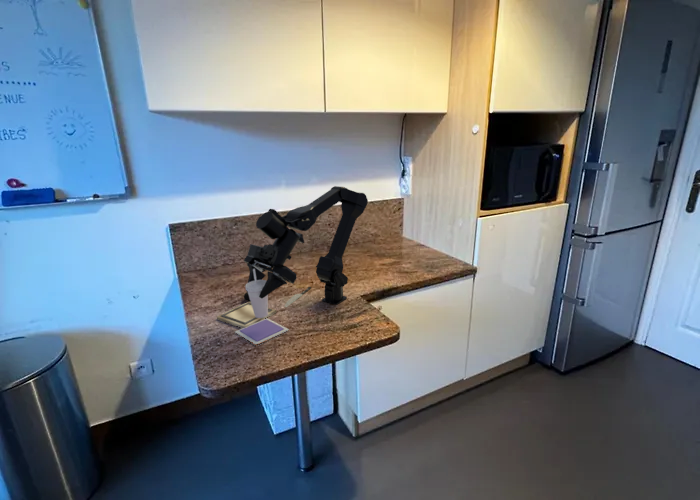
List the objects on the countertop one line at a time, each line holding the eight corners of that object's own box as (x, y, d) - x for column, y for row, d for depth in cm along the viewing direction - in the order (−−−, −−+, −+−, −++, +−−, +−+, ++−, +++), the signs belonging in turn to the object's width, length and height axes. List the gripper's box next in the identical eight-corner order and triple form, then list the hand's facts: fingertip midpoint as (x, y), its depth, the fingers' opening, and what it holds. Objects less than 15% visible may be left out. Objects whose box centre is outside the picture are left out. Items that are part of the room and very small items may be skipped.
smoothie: (267, 307, 109) (261, 263, 105) (276, 315, 104) (270, 269, 100) (247, 314, 106) (239, 269, 102) (254, 322, 101) (247, 275, 96)
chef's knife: (276, 309, 122) (284, 310, 121) (276, 306, 122) (283, 306, 121) (305, 288, 139) (311, 288, 138) (304, 285, 139) (311, 286, 137)
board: (249, 304, 125) (248, 300, 125) (276, 312, 118) (276, 309, 118) (217, 319, 115) (216, 315, 115) (245, 329, 108) (244, 325, 108)
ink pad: (267, 319, 114) (266, 317, 113) (288, 331, 106) (288, 328, 106) (235, 333, 106) (234, 330, 106) (256, 346, 99) (255, 343, 98)
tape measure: (243, 303, 127) (242, 293, 126) (253, 295, 133) (252, 285, 132) (261, 304, 125) (259, 294, 124) (270, 296, 131) (269, 287, 130)
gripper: (245, 228, 107) (215, 273, 103) (284, 237, 95) (251, 290, 90) (270, 247, 115) (243, 291, 110) (309, 258, 102) (280, 308, 98)
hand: (253, 294), depth 102 cm, fingers closed on smoothie, 6 cm apart
